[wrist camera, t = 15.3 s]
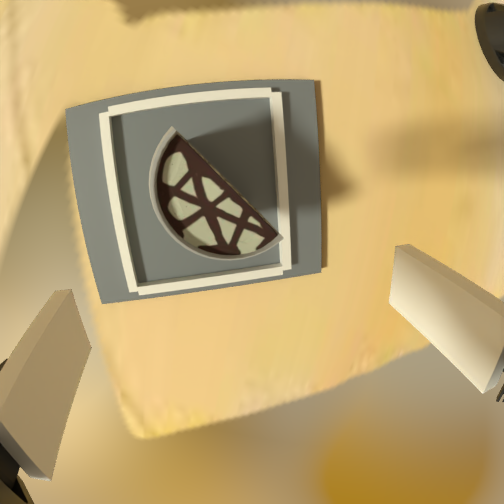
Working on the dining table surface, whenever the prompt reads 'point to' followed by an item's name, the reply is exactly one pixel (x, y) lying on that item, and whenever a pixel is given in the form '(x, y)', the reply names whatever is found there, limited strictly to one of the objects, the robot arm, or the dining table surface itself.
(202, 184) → the food container
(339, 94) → the dining table surface
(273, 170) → the dock board
